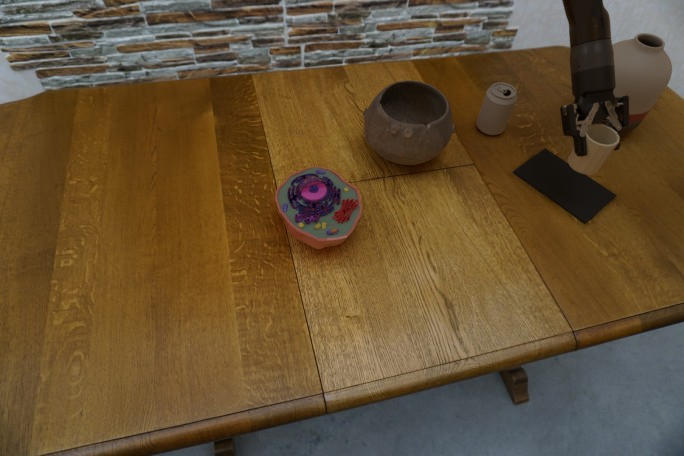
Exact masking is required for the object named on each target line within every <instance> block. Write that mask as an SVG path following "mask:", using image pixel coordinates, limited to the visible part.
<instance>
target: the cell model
mask: <svg viewBox="0 0 684 456" xmlns="http://www.w3.org/2000/svg"><path fill="white" fill-rule="evenodd" d="M360 193H361V192H360V191H359V189H358V188H357V187H356V186H354V185H353V184H351V183H350V182H348V181H347V180H346V179H344V178H343V177H342V176H341V175H340V174H339V173H338V172H337V171H335V170H333V169H331V168H328V167H324V166H323V167H322V166H310V167H309V166H308V167H306V168H303V169H300V170H298V171H296V172H293V173H291V174H289V176H287V178H286V179H285V180H284V181H283V182H282V183H281V184H280V185H279V186H278V187H277V188H276V190H275V193H274V200H275V204H276V206H277V210H278V212H279V213H280V217H281V219H282V222H283V224H284V226H285V228H286V230H287V231H288V233H289V234H290V236H291V237H292V238H294V239H295V240H297V241H299V242H302V243H304V244H306V245H307V246H309V247H311V248H313V249H315V250H321V249H325V248H327V247H328V248H329V247H333V246H339V245H341V244H343V243H344V242H345V241H346V240H347V239H348V238H349V237H350V235H351V234H352V232H354V230H355V229H357V226H358V224H359V222H360V221H361V219H362V213H363V206H362V205H363V204H362V199H361V194H360Z"/></svg>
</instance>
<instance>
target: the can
mask: <svg viewBox="0 0 684 456" xmlns="http://www.w3.org/2000/svg"><path fill="white" fill-rule="evenodd" d="M517 93H518V92H517V89H516V88H515V87H514V86H513V85H512V84H509V83H507V82H502V81H501V82H494V83H492V85H491V86H490V87H489V88H488V89H487V90H486V93H485V96H484V98H483V101H482V104H481V108H480V110H479V113H478V116H477V119H476V122H475V124H476V127H477V128H478V130H479V131H480V132H481V133H483V134H484V135H487V136H497V135H500V134H502V133H504V132H505V130H506V128H507V125H508V123H509V120H510V118H511V116H512V113H513V110H514V108H515V106H516V103H517V101H518V94H517Z"/></svg>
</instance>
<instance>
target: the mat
mask: <svg viewBox="0 0 684 456" xmlns="http://www.w3.org/2000/svg"><path fill="white" fill-rule="evenodd" d="M512 173H513V174H514V175H515V176H516V177H518V178H520V179H521V180H522V181H523V182H525V183H526V184H528V185H529V186H531V187H532V188H534V189H535V190H536V191H537V192H539V193H540V194H542V195H543V196H545V197H547V198H548V199H549V200H550V201H552V202H553V203H555V204H556V205H558V206H559V207H561V208H562V209H563V210H565V211H566V212H568V213H569V214H570V215H572V216H573V217H574V218H576V219H577V220H579V221H580V222H581V223H583V224H584V225H585V224H587V223H588V222H589V221H591V219H593V218H594V217H595V216H596V215H597V214H598V213H599V212H600V211H602V209H604V208H605V207H606V206H607V205H608V204H609V203H610V202H612V201H613V200H614V199H615V198H616V197H617V196H618V195H617V194H616V193H615V192H613V191H611V190H610V189H608V188H607V187H605V186H604V185H602V184H601V183H599V182H598V181H596V180H595V179H593V178H592V177H590V176H589V175H586V174H581V173H579V172H577V171H575V170H574V169H572V168H571V167H570V165H569V164H568V161H565V160H564V159H562V158H561V157H559V156H558V155H557V154H555V153H553V152H552V151H550V150H549V149H547V148H543V149H542V150H540V151H539V152H537V153H536V154H534V155H533V156H531V158H529V159H527V160H526V161H525V162H524V163H522V164H521V165H519V166H518V167H517V168H515V169H514V170H513V171H512Z"/></svg>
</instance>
